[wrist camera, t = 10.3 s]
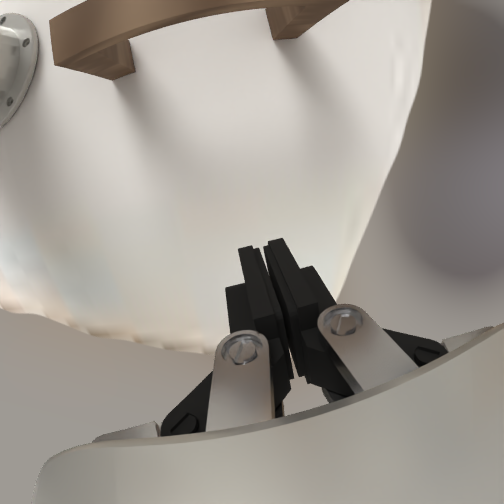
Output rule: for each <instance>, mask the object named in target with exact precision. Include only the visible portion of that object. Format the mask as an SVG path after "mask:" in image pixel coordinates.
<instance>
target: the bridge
mask: <svg viewBox="0 0 504 504" xmlns="http://www.w3.org/2000/svg"><path fill="white" fill-rule="evenodd" d="M348 1H349V0H87V1H85V2H83V3H81V4H79V5H77V6H75V7H73V8H71V9H69V10H67V11H65V12H63V13H61V14H60V15H58V16H56V17H54V18H53V19H51V20H49V24H50V35H51V44H52V52H53V59H54V65H55V66H60V67H64V68H68V69H72V70H76V71H80V72H84V73H88V74H91V75H95V76H99V77H102V78H105V79H109V80H112V81H113V80H115V79H118V78H120V77H123V76H125V75H128V74H131V73H133V72H135V68H134V63H133V58H132V53H131V48H130V43H129V40H128V39H130V38H133V37H135V36H138V35H141V34H144V33H147V32H150V31H153V30H156V29H160V28H163V27H166V26H170V25H174V24H177V23H181V22H185V21H189V20H193V19H198V18H202V17H207V16H212V15H218V14H223V13H229V12H236V11H243V10H250V9H259V8H266V9H265V10H266V14H267V18H268V22H269V26H270V29H271V33H272V37H273V40H279V39H291V38H298V37H299V36H300V35H302V34H303V33H304V32H305V31H307V30H308V29H309V28H311V27H312V26H313V25H315V24H316V23H317V22H319V21H320V20H322V19H323V18H324V17H326V16H327V15H329V14H330V13H331V12H333V11H334V10H336V9H337V8H339V7H340V6H342V5H343V4H345V3H346V2H348Z"/></svg>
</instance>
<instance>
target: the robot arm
mask: <svg viewBox="0 0 504 504" xmlns="http://www.w3.org/2000/svg"><path fill="white" fill-rule="evenodd" d="M37 53H38V37H37V33H36V29H35V27H34V25H33V23H32V22H31V21H30V20H29V19H28V18H27V17H25V16H23V15H20V14H16V13H6V14H3V15H1V16H0V128H1V127H2V126H4V124H5V123H6V122H7V121H8V120H9V119H10V118H11V117H12V116H13V114H14V113H15V111H16V110H17V109H18V107H19V105H20V104H21V102H22V100H23V98H24V97H25V94H26V92H27V90H28V88H29V85H30V83H31V80H32V77H33V74H34V70H35V65H36V61H37ZM263 248H264V254H265V258H266V263H267V268H268V271H267V269H266V266H265V263H264V260H263V258H262V255H261V252H260V249H259V248H255V249H253V246H252V245H251V246H247V247H243V248H239V249H238V252H239V257H240V261H241V266H242V271H243V275H244V280H245V283H242V284H238V285H234V286H230V287H226V288H225V291H226V300H227V309H228V318H229V326H230V335H228V336H226V337H225V338H224V339H223V340H222V341H221V342H220V343H219V345H218V346H217V349H216V353H215V360H214V369H213V371H212V372H211V373H210V374H209V375H208V376H207V377H206V378H205V379H204V380H203V381H202V382H201V383H200V384H199V385H198V386H197V387H196V388H195V389H194V390H193V391H192V392H191V393H190V394H189V395H188V396H187V397H186V398H185V399H184V400H182V401H181V402H180V403H179V404H178V405H177V406H176V407H175V408H174V409H173V410H172V411H171V412H170V413H169V414H168V415H167V416H166V418H165V419H164V420H163V422H161V423H158V424H157V423H156V422H155V421H153V422H150V423H146V424H143V425H139V426H136V427H132V428H128V429H125V430H120V431H116V432H112V433H108V434H103V435H101V436H99V437H97V438H96V439H95V440H93V441H92V443H88V444H83V445H80V446H76V447H73V448H70V449H67V450H64V451H62V452H60V453H58V454H56V455H54V456H53V457H51V458H50V459H49V460H47V462H46V463H45V464H44V465H43V467H42V469H41V471H40V473H39V475H38V478H37V481H36V485H35V488H34V492H33V497H32V502H31V504H504V323H502V324H499V325H497V326H496V327H492V326H491V327H484V328H481V329H478V330H475V331H471V332H468V333H464V334H461V335H457V336H453V337H450V338H446V339H443V341H442V343H438V342H436V341H434V340H431V339H426V338H421V337H417V336H413V335H408V334H404V333H400V332H395V331H391V330H387V329H383V328H381V327H380V326H379V325H378V324H377V323H376V322H375V321H374V320H373V319H372V318H371V317H370V316H369V315H368V314H367V313H366V312H365V311H364V310H363V309H361V308H360V307H357V306H355V305H351V304H338V305H337V304H336V302H335V300H334V299H333V297H332V295H331V294H330V292H329V291H328V289H327V287H326V286H325V284H324V283H323V281H322V279H321V278H320V276H319V275H318V273H317V271H316V270H315V268H314V267H313V266H309V267H305V268H301V269H300V268H299V266H298V264H297V263H296V261H295V259H294V257H293V255H292V254H291V252H290V250H289V248H288V247H287V245H286V243H285V241H284V239H283V238H280V239H276V240H272V241H268V245H267V246H263ZM268 273H269V274H268ZM289 349H290V352H291V355H292V358H293V361H294V364H295V367H296V370H297V373H298V376H299V377H301V376H305V378H306V381H307V384H310V383H311V384H314V385H317V386H319V387H322V391H323V394H324V396H325V397H326V399H327V401H328V402H329V404H326V405H323V406H320V407H316V408H313V409H310V410H306V411H303V412H299V413H295V414H291V415H288V416H284V405H283V399H284V398H285V397H286V395H287V394H288V393H289V391H290V390H291V386H290V379H294V374H293V369H292V363H291V358H290V352H289Z"/></svg>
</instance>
